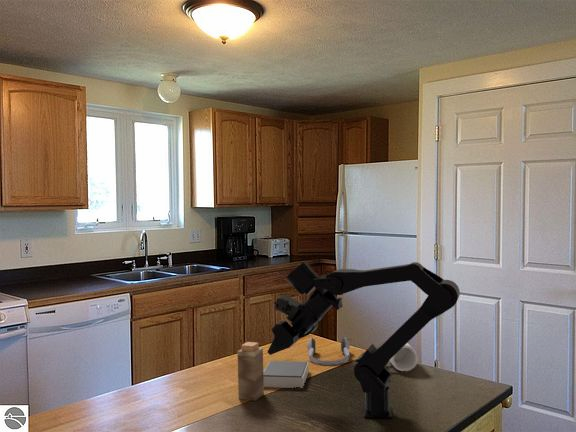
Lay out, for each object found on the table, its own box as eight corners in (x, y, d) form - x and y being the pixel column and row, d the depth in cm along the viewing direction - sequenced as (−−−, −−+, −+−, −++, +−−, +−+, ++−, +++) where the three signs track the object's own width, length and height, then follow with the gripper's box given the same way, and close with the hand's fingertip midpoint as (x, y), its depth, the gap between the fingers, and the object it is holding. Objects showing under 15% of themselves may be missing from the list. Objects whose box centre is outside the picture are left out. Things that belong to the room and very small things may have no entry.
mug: (409, 361, 161) (408, 336, 161) (418, 371, 151) (417, 345, 151) (372, 362, 161) (371, 337, 161) (378, 372, 151) (378, 346, 151)
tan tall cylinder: (263, 393, 136) (262, 347, 136) (255, 400, 131) (254, 353, 131) (247, 391, 138) (246, 346, 138) (238, 398, 133) (237, 351, 133)
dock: (302, 388, 139) (302, 376, 139) (260, 386, 141) (260, 375, 141) (308, 371, 153) (308, 361, 153) (269, 370, 155) (269, 360, 155)
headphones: (307, 344, 180) (306, 372, 160) (306, 329, 179) (305, 355, 159) (356, 344, 179) (361, 371, 159) (356, 329, 178) (361, 354, 158)
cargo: (258, 348, 135) (258, 342, 135) (253, 351, 132) (252, 346, 132) (247, 347, 136) (247, 341, 136) (241, 350, 133) (241, 345, 133)
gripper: (305, 280, 138) (271, 318, 142) (277, 291, 121) (239, 334, 125) (334, 309, 135) (297, 348, 139) (309, 325, 118) (268, 368, 122)
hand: (276, 348), depth 132 cm, fingers open, 9 cm apart
